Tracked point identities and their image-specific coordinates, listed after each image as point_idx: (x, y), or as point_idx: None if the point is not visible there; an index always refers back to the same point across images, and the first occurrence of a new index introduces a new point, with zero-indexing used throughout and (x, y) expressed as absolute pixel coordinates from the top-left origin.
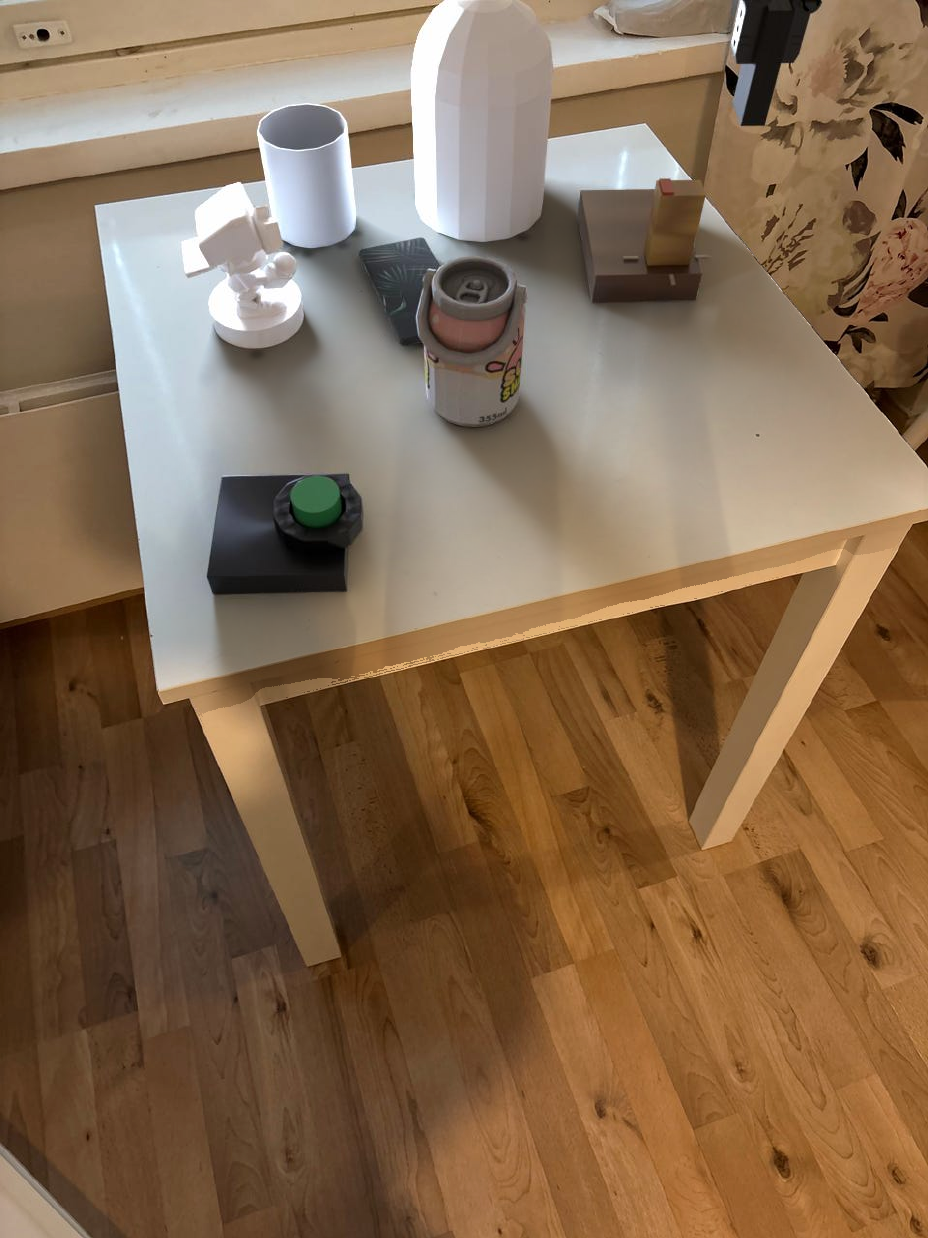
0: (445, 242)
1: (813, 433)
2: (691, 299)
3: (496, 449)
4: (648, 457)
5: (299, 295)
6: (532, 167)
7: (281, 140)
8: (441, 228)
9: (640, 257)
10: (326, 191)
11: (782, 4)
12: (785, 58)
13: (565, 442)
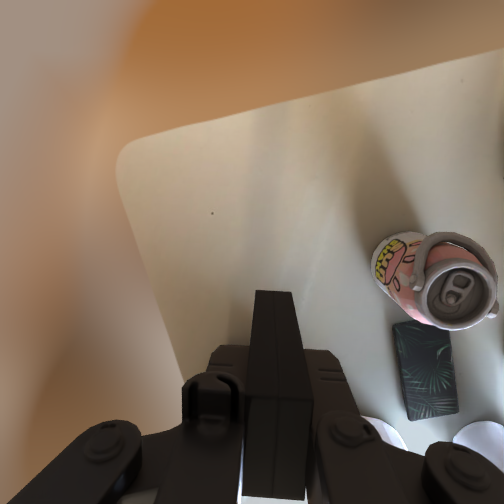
0: (390, 417)
1: (174, 212)
2: (229, 345)
3: (393, 212)
4: (290, 198)
5: None
6: None
7: None
8: (393, 429)
9: None
10: (502, 457)
11: (268, 427)
12: (237, 349)
13: (344, 216)
